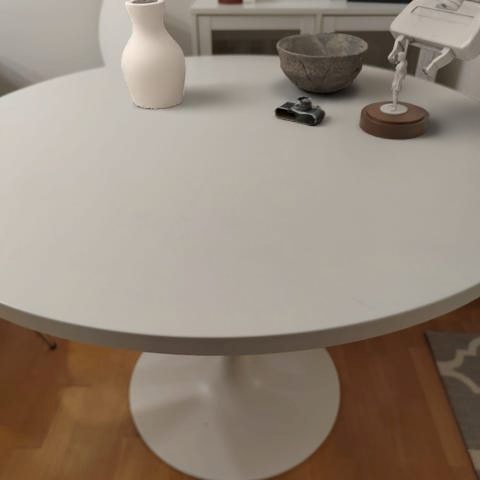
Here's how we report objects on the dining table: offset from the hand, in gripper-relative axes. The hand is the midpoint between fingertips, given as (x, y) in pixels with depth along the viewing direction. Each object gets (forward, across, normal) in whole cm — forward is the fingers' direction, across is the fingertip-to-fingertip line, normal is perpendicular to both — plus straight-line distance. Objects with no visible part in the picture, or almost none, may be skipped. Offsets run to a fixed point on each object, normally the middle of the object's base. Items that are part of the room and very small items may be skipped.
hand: (408, 67), depth 84 cm
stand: (+8, -1, +7) cm, 11 cm away
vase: (+34, -39, -19) cm, 55 cm away
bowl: (+9, -27, +6) cm, 29 cm away
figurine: (+6, -1, +5) cm, 8 cm away
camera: (+18, -13, -3) cm, 23 cm away
